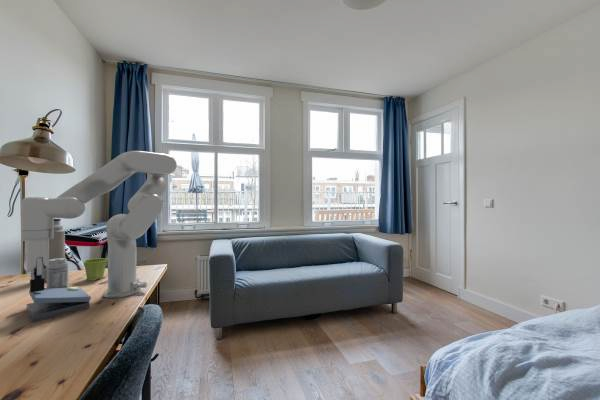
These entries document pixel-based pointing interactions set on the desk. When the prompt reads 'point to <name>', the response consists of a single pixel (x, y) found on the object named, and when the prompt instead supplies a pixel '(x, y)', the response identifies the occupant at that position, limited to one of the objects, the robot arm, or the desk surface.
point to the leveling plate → (60, 295)
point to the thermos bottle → (56, 244)
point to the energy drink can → (57, 273)
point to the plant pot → (95, 268)
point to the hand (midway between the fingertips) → (37, 290)
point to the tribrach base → (53, 309)
